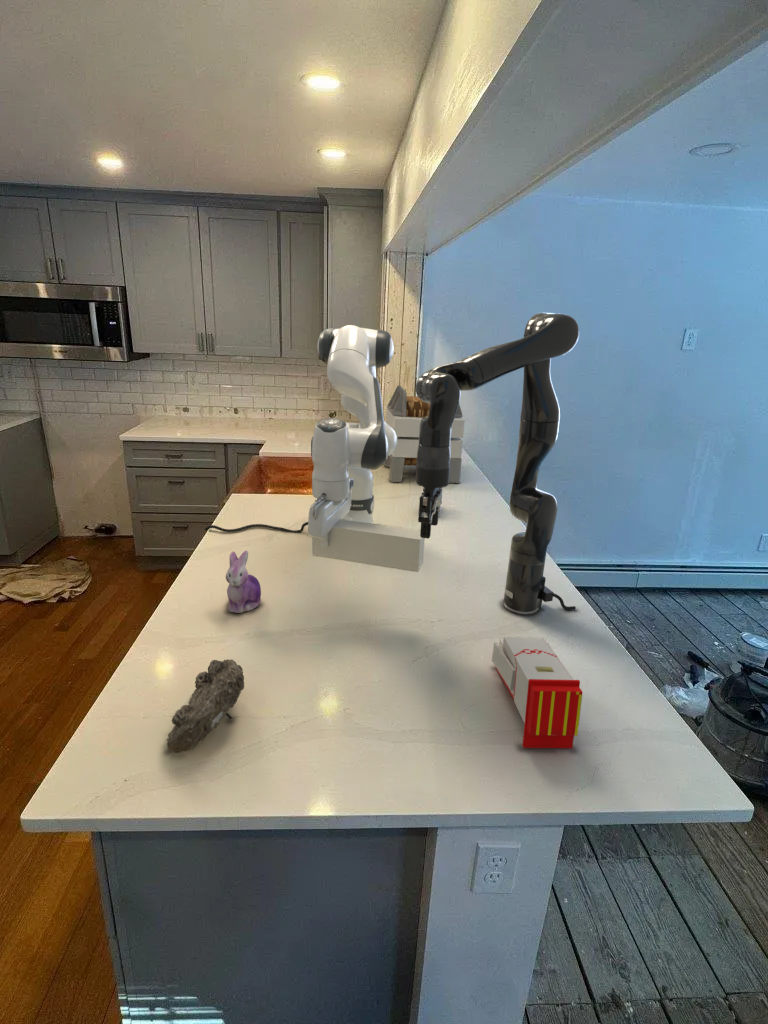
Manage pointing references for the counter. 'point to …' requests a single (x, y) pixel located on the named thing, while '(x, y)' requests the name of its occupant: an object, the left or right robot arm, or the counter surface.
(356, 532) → the bar
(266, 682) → the counter surface
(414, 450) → the transformer
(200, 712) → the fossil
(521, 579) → the right robot arm
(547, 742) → the toy
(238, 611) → the figurine
